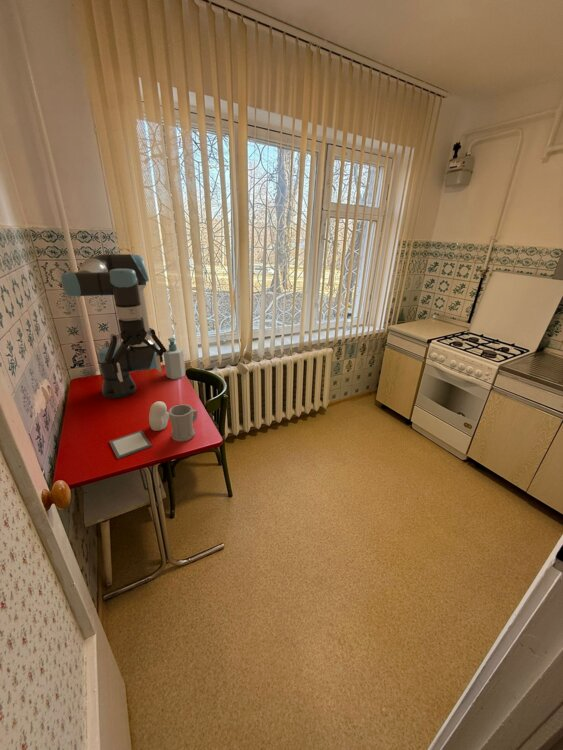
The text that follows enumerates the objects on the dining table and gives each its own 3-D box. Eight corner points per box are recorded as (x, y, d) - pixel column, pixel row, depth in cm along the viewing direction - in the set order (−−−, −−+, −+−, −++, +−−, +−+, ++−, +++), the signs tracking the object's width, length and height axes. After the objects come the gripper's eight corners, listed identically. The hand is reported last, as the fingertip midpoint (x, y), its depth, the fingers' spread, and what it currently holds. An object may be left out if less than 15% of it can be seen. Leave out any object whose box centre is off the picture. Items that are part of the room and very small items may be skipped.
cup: (177, 426, 127) (174, 401, 122) (199, 427, 127) (197, 402, 122) (168, 441, 118) (164, 415, 113) (191, 442, 118) (188, 416, 113)
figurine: (163, 433, 123) (159, 407, 118) (146, 430, 124) (142, 405, 119) (172, 423, 129) (169, 399, 124) (156, 420, 130) (152, 396, 125)
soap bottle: (167, 380, 166) (162, 342, 156) (165, 373, 173) (160, 337, 164) (186, 377, 170) (182, 340, 160) (184, 371, 177) (180, 335, 168)
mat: (109, 442, 116) (109, 441, 116) (141, 431, 123) (141, 430, 123) (117, 459, 108) (117, 458, 107) (151, 446, 115) (151, 445, 114)
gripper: (90, 326, 90) (105, 388, 99) (171, 315, 106) (178, 370, 115) (85, 320, 95) (99, 380, 104) (163, 311, 111) (169, 364, 120)
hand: (140, 375), depth 109 cm, fingers open, 13 cm apart
